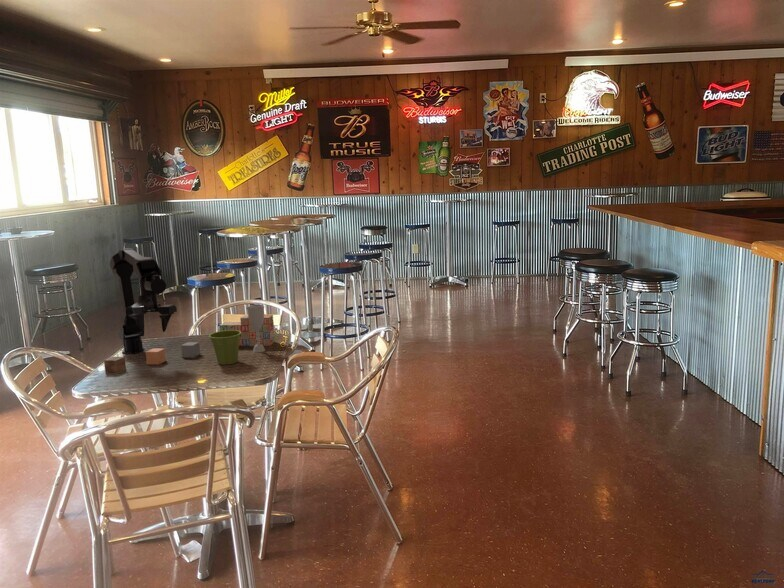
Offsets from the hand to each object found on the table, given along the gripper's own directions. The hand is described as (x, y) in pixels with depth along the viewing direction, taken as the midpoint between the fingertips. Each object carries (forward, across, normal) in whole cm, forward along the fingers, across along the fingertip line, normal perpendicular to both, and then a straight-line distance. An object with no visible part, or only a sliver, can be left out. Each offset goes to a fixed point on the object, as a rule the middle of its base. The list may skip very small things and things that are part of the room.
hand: (153, 331), depth 232 cm
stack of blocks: (+13, +25, +29) cm, 40 cm away
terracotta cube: (+12, 0, 0) cm, 12 cm away
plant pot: (+13, +29, +2) cm, 32 cm away
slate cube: (+12, +9, +10) cm, 18 cm away
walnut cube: (+12, -9, -12) cm, 19 cm away
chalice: (+13, +34, +19) cm, 41 cm away
